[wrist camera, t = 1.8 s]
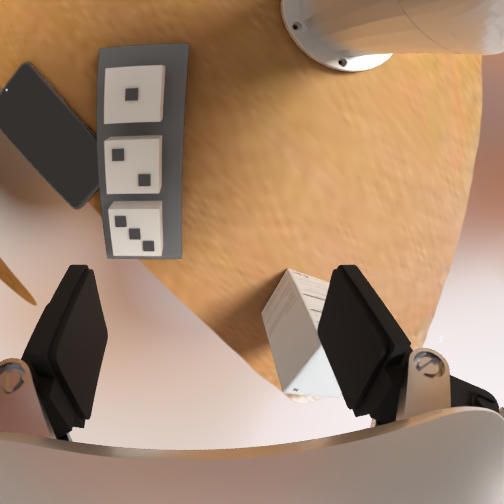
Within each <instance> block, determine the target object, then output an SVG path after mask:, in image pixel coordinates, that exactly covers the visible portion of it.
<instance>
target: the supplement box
mask: <svg viewBox="0 0 504 504" xmlns="http://www.w3.org/2000/svg"><path fill="white" fill-rule="evenodd" d="M329 284H330V282H327V281H324V280H321V279H318V278H315V277H312V276H309V275H306V274H303V273H300V272H297V271H294V270H291V269H287V270H286V272H285V274H284V275H283V277H282V278H281V280H280V282H279V284H278V285H277V287H276V289H275V290H274V292H273V294H272V295H271V297H270V299H269V300H268V302H267V304H266V305H265V307H264V309H263V310H262V312H261V315H262V319H263V322H264V326H265V330H266V333H267V337H268V341H269V344H270V348H271V352H272V355H273V359H274V362H275V366H276V370H277V373H278V377H279V380H280V384H281V388H282V391H283V392H285V393H291V394H298V395H308V396H319V397H332V398H333V397H334V398H337V397H339V396H340V395H341V394H342V392H341V390H340V387H339V385H338V383H337V380H336V378H335V375H334V373H333V371H332V368H331V366H330V363H329V361H328V359H327V356H326V354H325V351H324V349H323V347H322V344H321V342H320V340H319V337H318V333H317V329H318V324H319V321H320V317H321V314H322V310H323V306H324V303H325V299H326V295H327V292H328V288H329Z"/></svg>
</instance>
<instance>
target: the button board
mask: <svg viewBox="0 0 504 504" xmlns="http://www.w3.org/2000/svg"><path fill="white" fill-rule="evenodd" d="M189 47H190V46H189V44H148V45H131V46H119V47H109V48H100V49H99V60H98V78H97V155H98V174H99V188H100V200H101V211H102V220H103V229H104V236H105V244H106V251H107V258H110V259H182V168H183V137H184V116H185V98H186V83H187V70H188V58H189ZM149 65H164V66H165V67H166V68H165V82H164V100H163V119H162V120H161V121H160V122H133V123H113V124H104V89H105V68H116V67H130V66H149ZM143 135H162V187H161V190H160V192H159V193H147V194H107V189H106V173H105V151H104V141H105V140H106V139H108V138H110V137H116V136H143ZM113 201H162V222H163V250H162V256H113V249H112V241H111V232H110V223H109V213H108V209H109V207H110V206H111V204H112V203H113Z"/></svg>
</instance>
